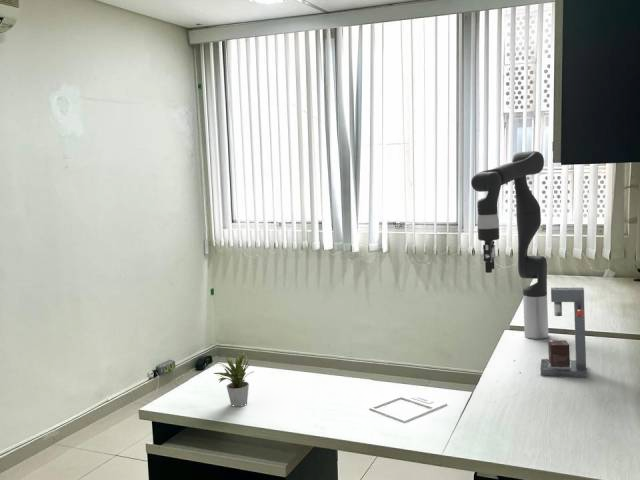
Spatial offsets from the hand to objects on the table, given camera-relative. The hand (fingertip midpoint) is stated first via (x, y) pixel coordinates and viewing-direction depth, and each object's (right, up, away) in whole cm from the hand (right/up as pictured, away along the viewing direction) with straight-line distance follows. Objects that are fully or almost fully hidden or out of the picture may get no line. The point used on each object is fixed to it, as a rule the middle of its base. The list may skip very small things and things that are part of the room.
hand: (490, 270), depth 221 cm
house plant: (-89, -41, -28) cm, 102 cm away
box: (+18, -31, -19) cm, 40 cm away
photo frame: (-36, -39, -42) cm, 68 cm away
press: (+18, -33, -21) cm, 43 cm away
